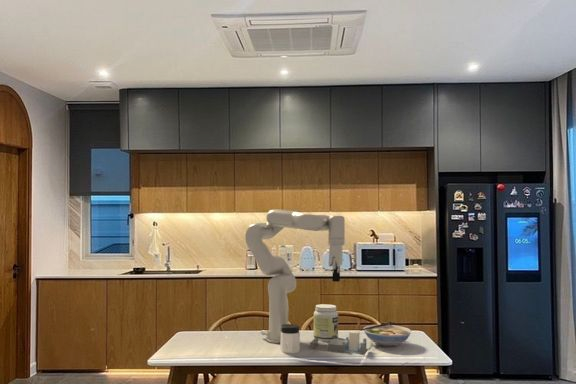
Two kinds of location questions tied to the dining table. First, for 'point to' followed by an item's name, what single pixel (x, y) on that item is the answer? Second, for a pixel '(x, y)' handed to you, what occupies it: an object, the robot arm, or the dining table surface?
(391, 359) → the dining table surface
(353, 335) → the plug
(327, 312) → the supplement tub
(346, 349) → the grey tiered shelf stand
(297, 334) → the jar
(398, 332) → the ramen bowl
